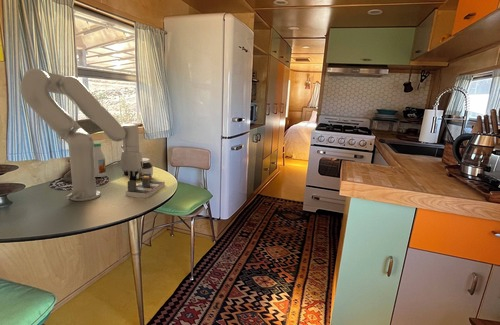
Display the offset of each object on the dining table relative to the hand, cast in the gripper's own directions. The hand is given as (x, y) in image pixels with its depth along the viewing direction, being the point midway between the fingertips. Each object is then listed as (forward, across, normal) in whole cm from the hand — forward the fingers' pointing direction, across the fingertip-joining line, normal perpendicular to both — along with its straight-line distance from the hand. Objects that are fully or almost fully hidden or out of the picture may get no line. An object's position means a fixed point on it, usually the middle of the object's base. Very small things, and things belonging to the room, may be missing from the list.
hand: (133, 182), depth 142 cm
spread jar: (+4, -5, +17) cm, 18 cm away
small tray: (+4, +7, 0) cm, 8 cm away
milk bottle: (+4, -30, +14) cm, 33 cm away
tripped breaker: (+1, +7, 0) cm, 7 cm away
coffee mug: (+4, -15, +24) cm, 28 cm away
